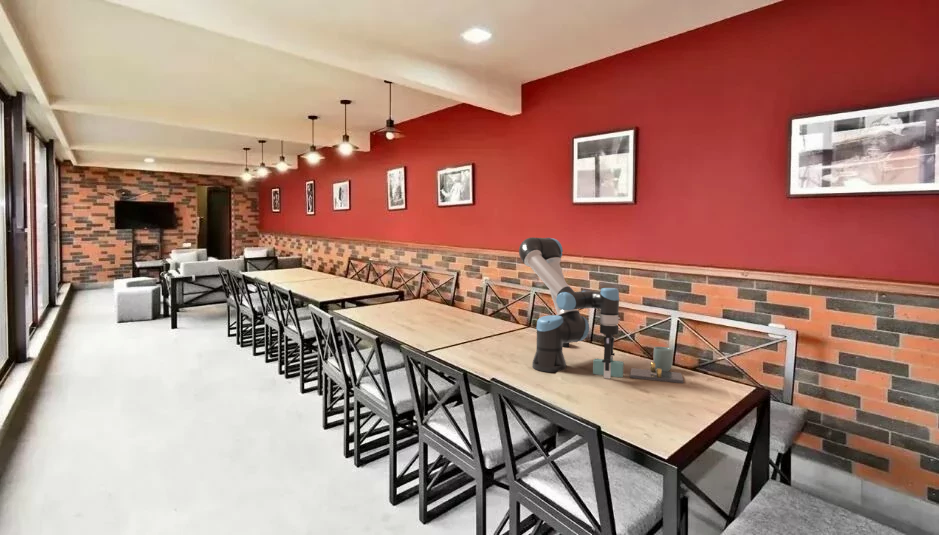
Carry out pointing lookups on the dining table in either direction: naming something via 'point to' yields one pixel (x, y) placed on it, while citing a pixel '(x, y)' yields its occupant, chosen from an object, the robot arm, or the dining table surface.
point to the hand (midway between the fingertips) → (608, 374)
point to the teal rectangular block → (615, 367)
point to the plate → (656, 374)
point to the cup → (663, 358)
